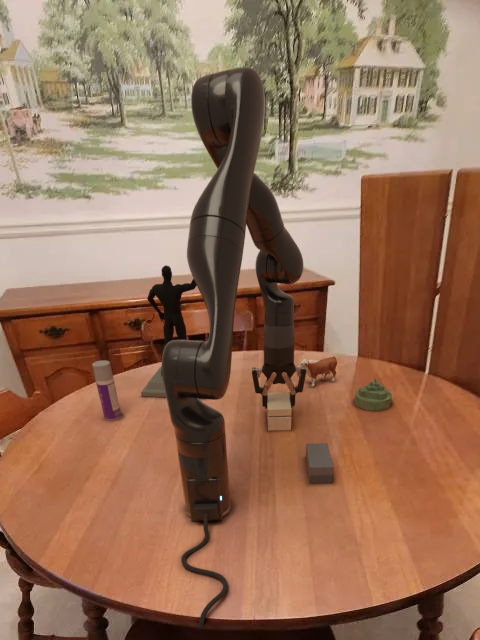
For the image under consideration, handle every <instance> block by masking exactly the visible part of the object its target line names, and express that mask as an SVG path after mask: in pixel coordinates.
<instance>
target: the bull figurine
mask: <svg viewBox="0 0 480 640" xmlns="http://www.w3.org/2000/svg"><path fill="white" fill-rule="evenodd" d="M337 365H338V360H337V357H336V356H330V357H326V358H325V357H324V358H321V359H309V360H307V358H303V359H302V360H301V361H300V363H299V364H298V366H297V367H302V366H304V367H305V368H306V375H307V376H308V377H309V378H310V379H311V381H310V382H309V383H310V384H311V385H310V387H311V388H314V387H315V386H316V381H317V378H318V376H319V375H321V377H322V378H321V379H320V380H321V381H325V379H327V376H330V375H331V374H332V379H331V382H332V383H334V382H335V380H336V375H337V371H336V369H337Z"/></svg>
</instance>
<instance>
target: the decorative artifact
mask: <svg viewBox="0 0 480 640" xmlns="http://www.w3.org/2000/svg"><path fill="white" fill-rule="evenodd" d="M392 397H393V394H392V393H391V392H390V391H388V390H387V388H386V387H385V385H384V384H383V383H380V382H379V380H377V378H374V380H373V381H369V383H368V384H365V385H363V386H362V387H359V388H358V390H356V392H355V395H354V404H355V406H356V407H357V408H360V409H362V410H365V411H371V412H372V411H373V412H377V411H384V410H387V409H389V408H390V407H391V404H392Z"/></svg>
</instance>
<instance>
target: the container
mask: <svg viewBox="0 0 480 640" xmlns="http://www.w3.org/2000/svg"><path fill="white" fill-rule="evenodd" d="M91 365H92V369H93V375H94V379H95V384H96V389H97V392H98V397H99V401H100V405H101V410H102V413H103V418H104V420H105V421H108V422H114V421H118V420H120V419H121V418H122V412H121V406H120V402H119V397H118V393H117V388H116V383H115V378H114V375H113V370H112V366H111V362H110V361H109V360H105V359H104V360H103V359H102V360H97V361H94V362H93V363H92V364H91Z"/></svg>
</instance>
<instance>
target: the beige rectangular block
mask: <svg viewBox="0 0 480 640" xmlns="http://www.w3.org/2000/svg"><path fill="white" fill-rule="evenodd" d="M267 395H268V403H267V409H266V412H267V411H268V416H291V417H292V408H291V403H290V391H281V392H277V391H276V392H275V391H274V392H268V393H267Z"/></svg>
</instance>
